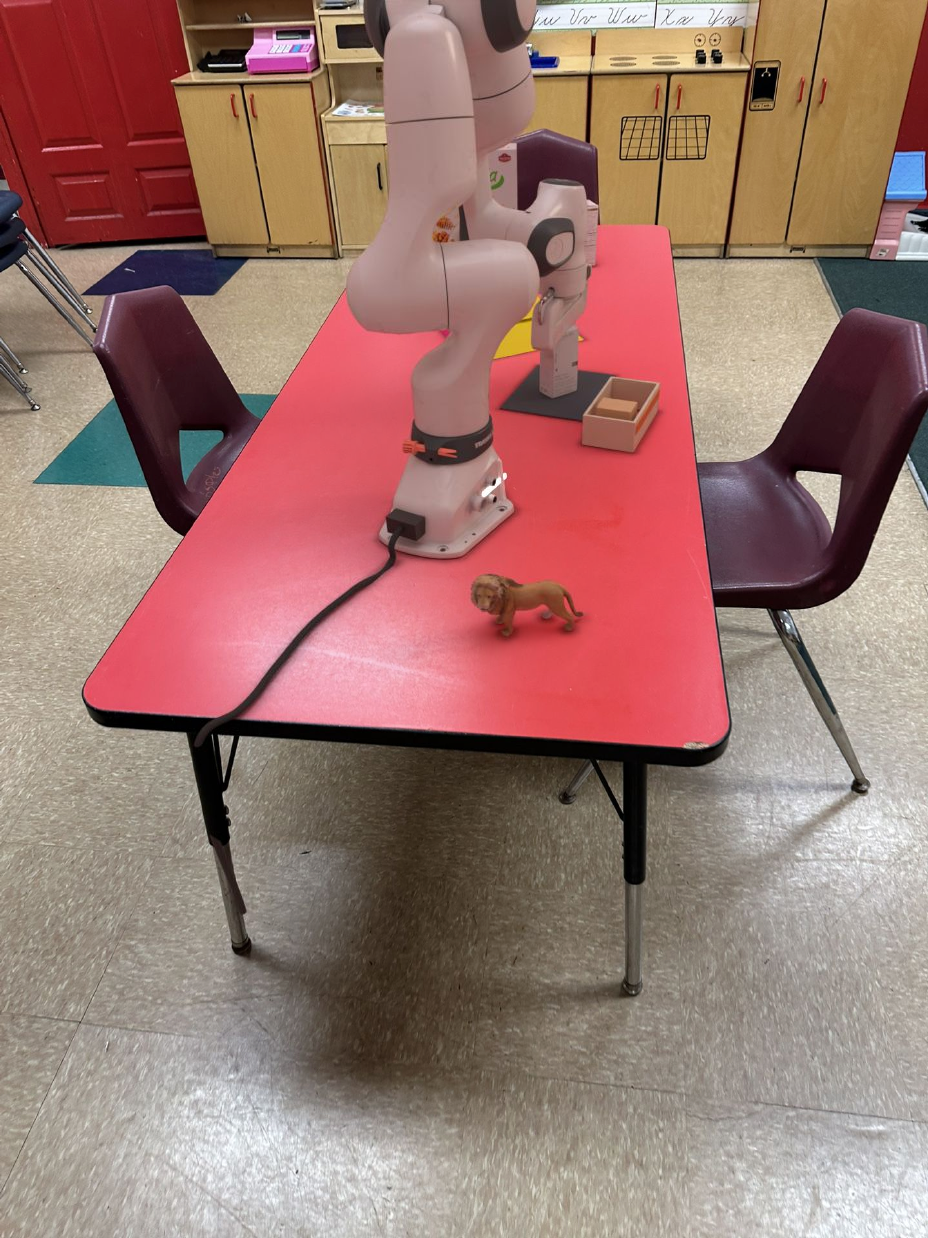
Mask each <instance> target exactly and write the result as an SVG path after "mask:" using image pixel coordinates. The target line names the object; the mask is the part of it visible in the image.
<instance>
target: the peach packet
mask: <svg viewBox="0 0 928 1238" xmlns="http://www.w3.org/2000/svg"><path fill="white" fill-rule="evenodd" d="M637 412H638V410H637V402H632V401H625V400H618V399H611V398H604V397H603V399H602V400H601V401H600V403H599V404H598V406H597V407H596V416H601V417H607V418H614V419H621V420H628V421H634V420H635V418H636V416H637V415H638V413H637Z"/></svg>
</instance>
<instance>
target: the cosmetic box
mask: <svg viewBox="0 0 928 1238" xmlns="http://www.w3.org/2000/svg"><path fill="white" fill-rule="evenodd" d="M579 336H580V328H579V327H578V326H576V325H575V326H574V325H572V326H571V327H570V328H569V329H568V331H567V332H566V334H565V335H564V336H563V337H562V338H561V339H560V340H559V341H558V343H557V344H556V348H555V354H557V362H556V363H555V364H554V366H546V365H545V356H544V353H543V351H541V350H539V365H540V392H542V393H543V394H545V395H546V396H548V397H550V398H556V397H559V396H562V395H565V394H568V393H571V392H574V391H576V390H577V372H578V370H579V367H578V366H579V341H578V340H579Z"/></svg>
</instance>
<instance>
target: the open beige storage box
mask: <svg viewBox="0 0 928 1238" xmlns="http://www.w3.org/2000/svg"><path fill="white" fill-rule="evenodd" d="M660 389H661V382H657V381H648V380H640V379H633V378H627V377H626V378H625V377H618V376H615V377H610V379H609V380H608V381H607V383H606V384H605V385H604V387H603V388H602V390H601V391H600V392H599V394H598V395H597V396H596V398H595V399H594V401H593V402H592V403H591V405H590V406H589V408H588V409H587V410H586V412H585V413H584V414H583V422H582V428H581V429H582V431H581V445H584V446H589V447H595V448H600V449H607V450H614V451H620V452H627V453H632V454H633V453H634V452H635V450H636V449H637V447H638V446H639V443H640V442H641V440H643V439H642V438H643V437H644V435H645V434H646V432H647V430H648V428H649V427H650V425H651V424H652V422H653V421H654V419H655V417H656V415H657V414H658V412H659V411H658V410H659V400H660V391H661V390H660ZM603 397H604V398H611V399H618V400H625V401H632V402H637V411H638V413H637V414H636V418H635V420H634V421H628V420H621V419H614V418H607V417H601V416H596V407H597V406H598V404H599V403H600V401H601V400H602V399H603Z"/></svg>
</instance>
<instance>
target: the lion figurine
mask: <svg viewBox="0 0 928 1238" xmlns="http://www.w3.org/2000/svg"><path fill="white" fill-rule="evenodd" d="M470 591H471V592H470V601H471V604H472V605H473V606H474V607H476V608H477V609H479V610H480V612H482V613H488V615H491V616H497V617H496V618H495V619H494V622H495V623H496V624H497V625H501V624H504V625H505V628H503V629H502V630H501V635H502V636H504V637H509V636H510V635H512V633H513V629H514V625H513V623H514V622H513V621H514V617H515V615H516V613H517V612H527V611H531V610H534V609H537V608H539V607H540V606H542V605H545V606H546V607H547V608H548V610H547V611H546V610H545V611H542V612H541V618H542V619H550V618H551V617H552V616H553V615H555V616H556V617H559V618H560V619H562V620H564V621H566V622H567V623H564V625H562V627H563V630H565V631H566V632H571V631H573V630H574V628H575V619H574V616H575V617H578V618H581V617H583V616H584V613H583V612H582V611H577V610H576V607H575V604H574V600H573V598H572V597H573V596H572V595H571V593H570V592H569V590H568V589H567V588H566V587H565V586H563V585H562V584H561V583H559V582H557V581H554V580H549V579H546V580H545V579H544V580H542V581H537V582H531V583H530V582H529V583H519V582H516V581H515V580H514V579H512V578H510V577H506V576H504V575H501V576H500V575H499V574H497V573H496V574H493V573H487V574H486V573H485V574H481V575H478V576H477V577H476V578H475V579H474V580H473V581H472V583H471V585H470ZM565 599H566V601H567V603H568V606H569V609H570V610H571V612H570V611H568V610H567V608H566V605H565Z"/></svg>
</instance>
